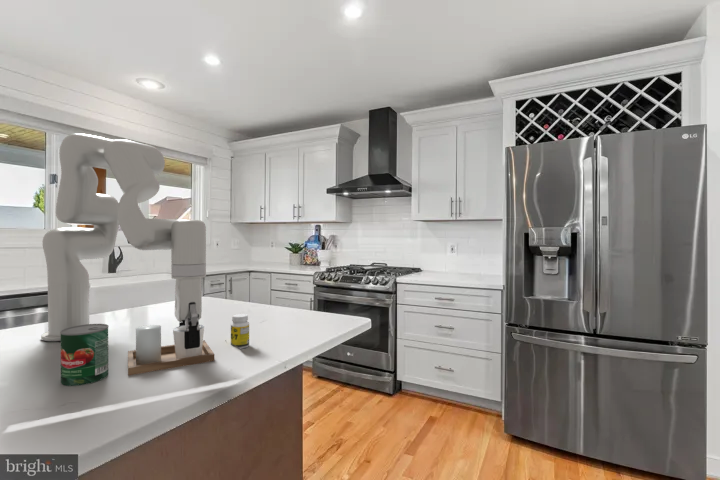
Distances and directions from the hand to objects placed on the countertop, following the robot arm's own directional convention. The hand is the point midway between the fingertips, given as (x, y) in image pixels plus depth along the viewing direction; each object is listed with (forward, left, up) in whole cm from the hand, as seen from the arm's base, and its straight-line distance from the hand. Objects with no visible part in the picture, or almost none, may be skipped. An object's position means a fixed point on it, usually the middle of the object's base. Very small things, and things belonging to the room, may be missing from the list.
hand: (189, 342), depth 89 cm
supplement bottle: (-4, +13, -4) cm, 14 cm away
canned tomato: (+4, -20, -4) cm, 21 cm away
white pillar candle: (0, -8, -3) cm, 9 cm away
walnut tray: (0, -4, -4) cm, 6 cm away
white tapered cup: (0, 0, -3) cm, 3 cm away
